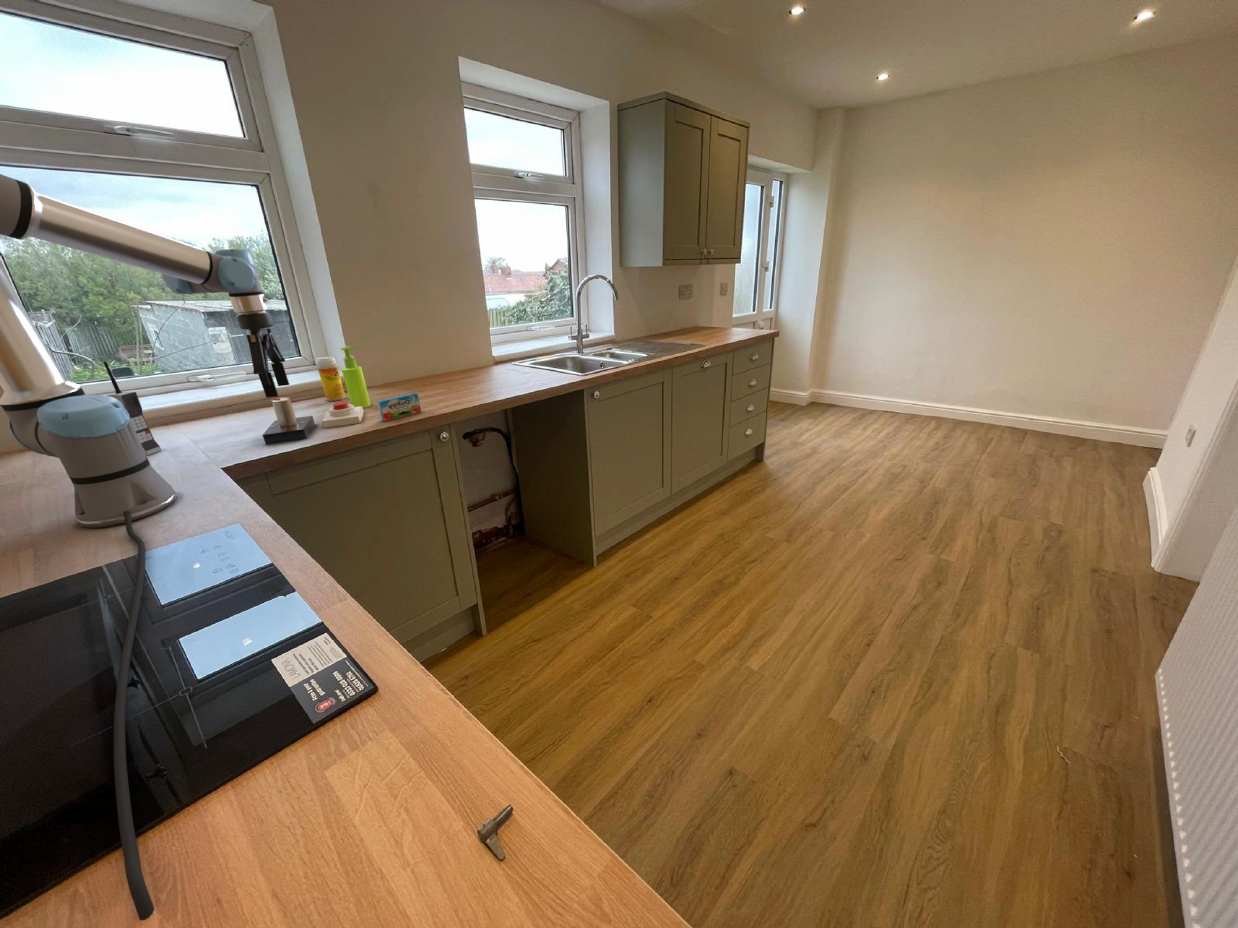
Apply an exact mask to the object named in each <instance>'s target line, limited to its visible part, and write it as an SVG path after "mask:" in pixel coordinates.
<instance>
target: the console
mask: <svg viewBox="0 0 1238 928" xmlns="http://www.w3.org/2000/svg"><path fill="white" fill-rule="evenodd" d="M296 420H297V424H295V425H293V426H288V427H280V425H279V422H278V419H276V420H274V421H273V422H272V423H271V424H270V425H269V426H268V427H267V429H266V430H265V431H264V432H263V434H262V438H263V441H264V444H265V446H266V445H267V446H268V445H269V446H270V445H275V444H283V443H288V442H289V443H291V442H295V441H297V442H298V441H303V440H307V439H308V438H309V436H310V434H311V433H312V431H313V430H314V428H315V426H316V422H315V419H314V416H313V415H308V416H307V415H305V416H298V417H296Z"/></svg>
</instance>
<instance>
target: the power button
mask: <svg viewBox="0 0 1238 928" xmlns="http://www.w3.org/2000/svg"><path fill="white" fill-rule="evenodd" d="M348 405H349V403H348V402H347V401H339V402H338V401H337V402H335V403H332V407H334V410H342V409H346V408H349V407H348Z"/></svg>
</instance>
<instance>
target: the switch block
mask: <svg viewBox="0 0 1238 928" xmlns="http://www.w3.org/2000/svg"><path fill="white" fill-rule="evenodd" d="M348 407H349V408H346V409H342V410H334V407H333V406H332V407H330V408H328V410H327V411H326V412H325V414H324V417H323V418H322V420H321V424H322V427H323V429H327V428H333V427H338V426H339V427H340V426H349V425H354V424H355V425H356V424H361V421H362V419H363V415H364V408H362V406H359V407H354V405H351V404H348Z"/></svg>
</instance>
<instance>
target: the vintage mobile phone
mask: <svg viewBox="0 0 1238 928" xmlns="http://www.w3.org/2000/svg"><path fill="white" fill-rule="evenodd" d="M102 363H103V365H104V367H105V369H106V372H107V374H108V376H109V378H110V381H111V385H112V387H113V388H114V390H115V392H113V393H109V394H106V396H110V397H113V398H116V399H117V400H119V401H120V402H121V403H122V404H123V406H124V408H125V409H126V410H127V412H128V413H129V415H130V420H131V422H132V424H133V427H134V429H135V431H136V433H137V436H138V438H139V440H140V442H141V445H142V447H143V449H144V451H145V454H146V456H150V455H153V454H156V453H158V452H161V451H162V448H161V446H160V445H159V443H158V442H157V441H156V440H155V437H154V436H153V433H152V431H151V429H150V426H149V425H148V422H147V419H146V417H145V415H144V413H143V407H142V404H141V402H140V399H139V395H138V394H137V392H136V391H129V390H128V391H122V390H121V389H120V387H119V384H118V382H117V379H115V377H114V375H113V372H112V371H111V369H110V366H109V364H108V362H107V361H103V362H102Z"/></svg>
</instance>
